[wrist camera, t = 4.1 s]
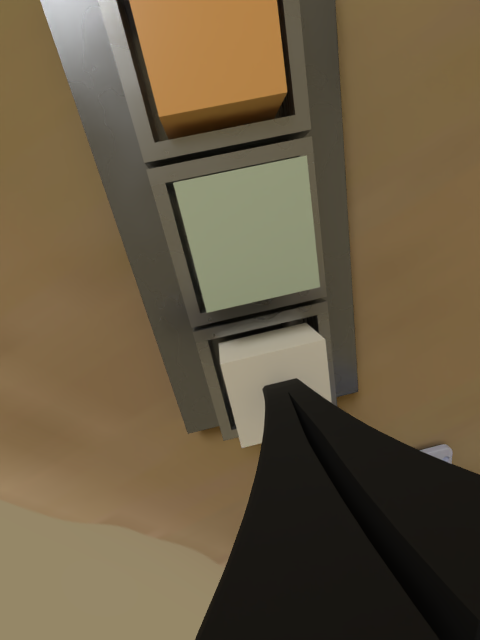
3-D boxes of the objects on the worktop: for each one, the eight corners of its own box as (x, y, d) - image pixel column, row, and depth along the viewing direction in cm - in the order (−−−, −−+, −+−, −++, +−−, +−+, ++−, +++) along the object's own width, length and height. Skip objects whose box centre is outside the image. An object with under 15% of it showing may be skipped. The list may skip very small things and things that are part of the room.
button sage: (300, 279, 10) (320, 287, 9) (207, 299, 10) (206, 312, 8) (287, 173, 9) (306, 155, 7) (181, 195, 9) (172, 182, 7)
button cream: (315, 396, 12) (333, 424, 10) (237, 415, 12) (241, 448, 10) (305, 322, 11) (325, 339, 9) (218, 343, 11) (219, 364, 9)
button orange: (272, 122, 9) (287, 92, 8) (169, 142, 9) (158, 117, 7) (252, -20, 8) (265, -99, 6) (134, 1, 8) (110, -73, 6)
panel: (347, 380, 15) (378, 412, 12) (189, 419, 15) (184, 460, 12) (315, -44, 9) (361, -169, 7) (52, 1, 9) (-22, -111, 6)
